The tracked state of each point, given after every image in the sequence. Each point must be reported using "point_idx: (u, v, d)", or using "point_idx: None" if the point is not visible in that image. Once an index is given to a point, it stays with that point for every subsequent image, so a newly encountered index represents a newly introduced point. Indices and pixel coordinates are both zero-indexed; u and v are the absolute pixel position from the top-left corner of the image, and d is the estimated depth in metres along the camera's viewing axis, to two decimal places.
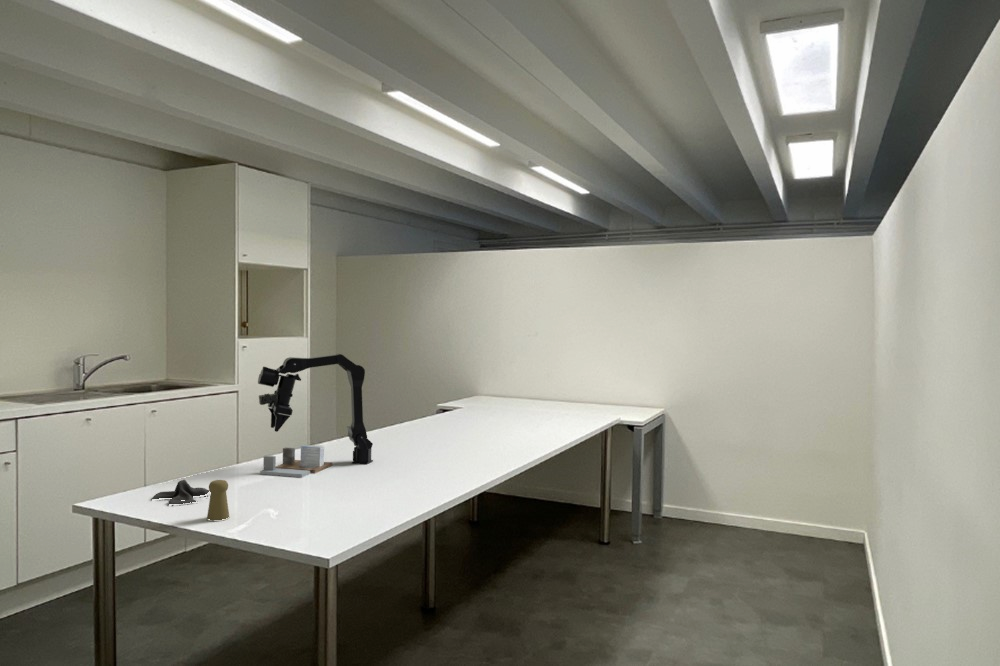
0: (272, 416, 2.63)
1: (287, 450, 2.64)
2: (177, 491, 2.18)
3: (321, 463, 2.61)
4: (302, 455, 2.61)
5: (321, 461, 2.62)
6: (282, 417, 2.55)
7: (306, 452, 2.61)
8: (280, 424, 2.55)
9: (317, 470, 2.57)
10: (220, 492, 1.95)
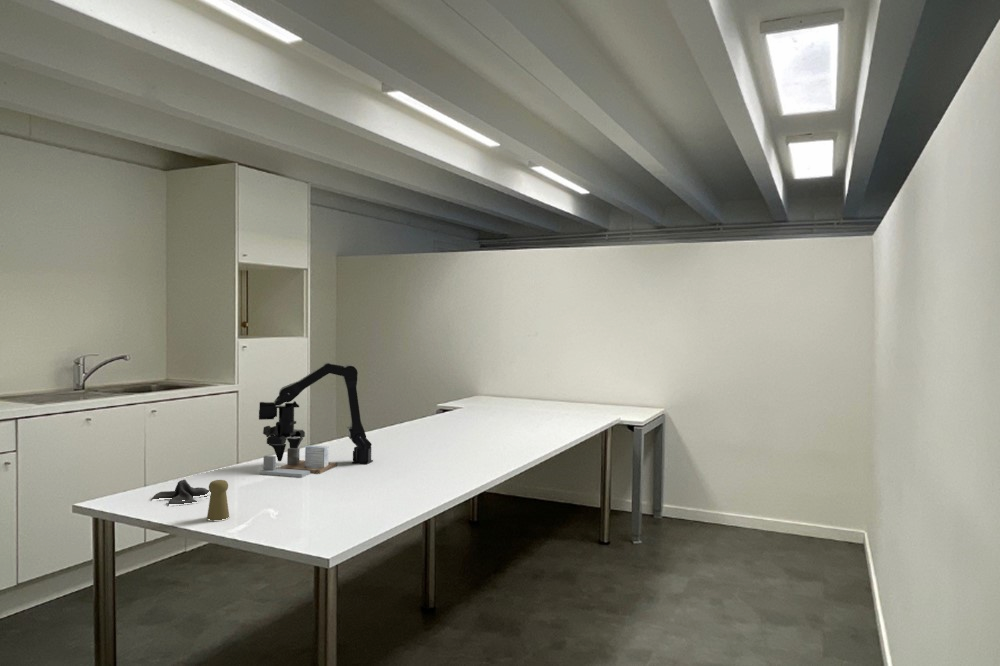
0: (290, 445, 2.70)
1: (292, 450, 2.63)
2: (177, 491, 2.18)
3: (325, 464, 2.61)
4: (307, 455, 2.60)
5: (326, 461, 2.61)
6: (279, 447, 2.59)
7: (311, 452, 2.60)
8: (280, 454, 2.59)
9: (322, 470, 2.56)
10: (220, 492, 1.95)
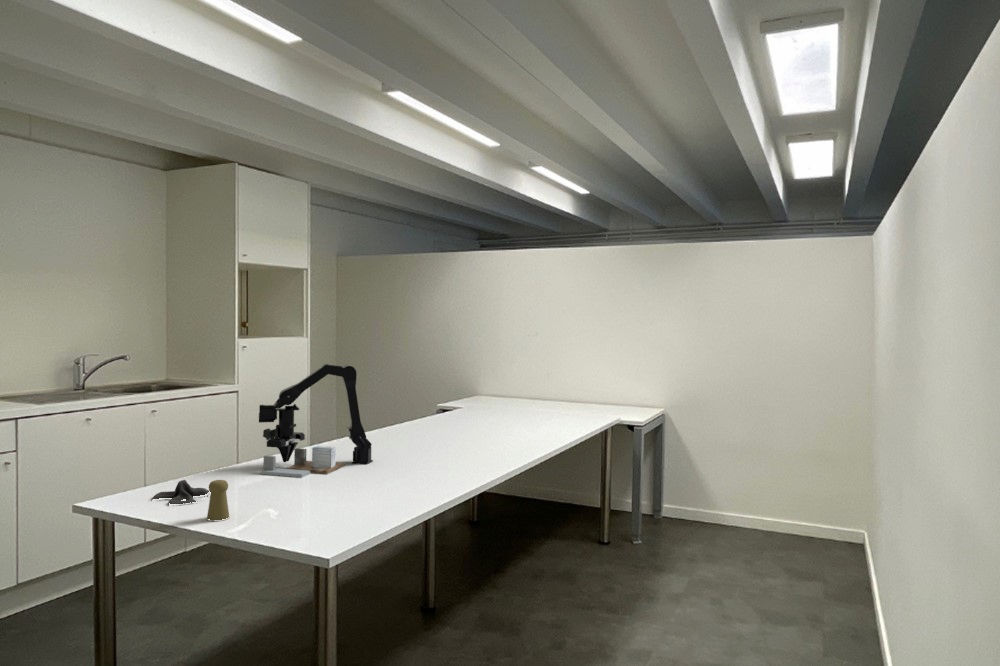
0: None
1: (299, 451, 2.63)
2: (177, 491, 2.18)
3: (332, 464, 2.60)
4: (314, 456, 2.60)
5: (332, 462, 2.60)
6: (284, 448, 2.63)
7: (318, 453, 2.59)
8: (285, 455, 2.63)
9: (329, 471, 2.55)
10: (220, 492, 1.95)
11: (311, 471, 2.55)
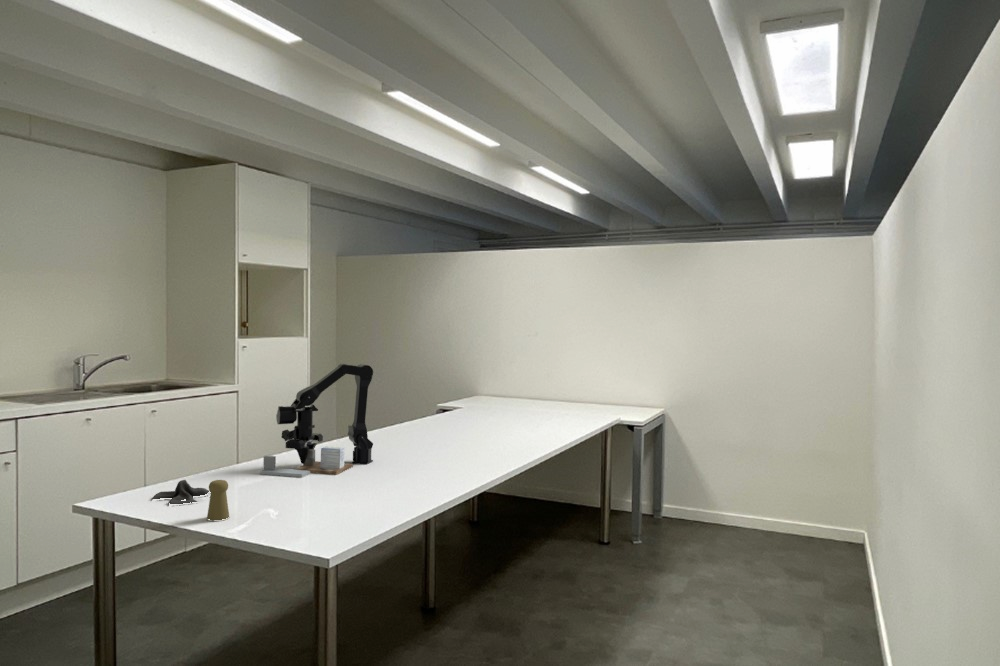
0: None
1: (308, 451, 2.62)
2: (177, 491, 2.18)
3: (341, 465, 2.59)
4: (322, 457, 2.59)
5: (341, 463, 2.59)
6: (303, 449, 2.61)
7: (326, 453, 2.58)
8: (303, 456, 2.61)
9: (338, 472, 2.55)
10: (220, 492, 1.95)
11: (320, 472, 2.54)
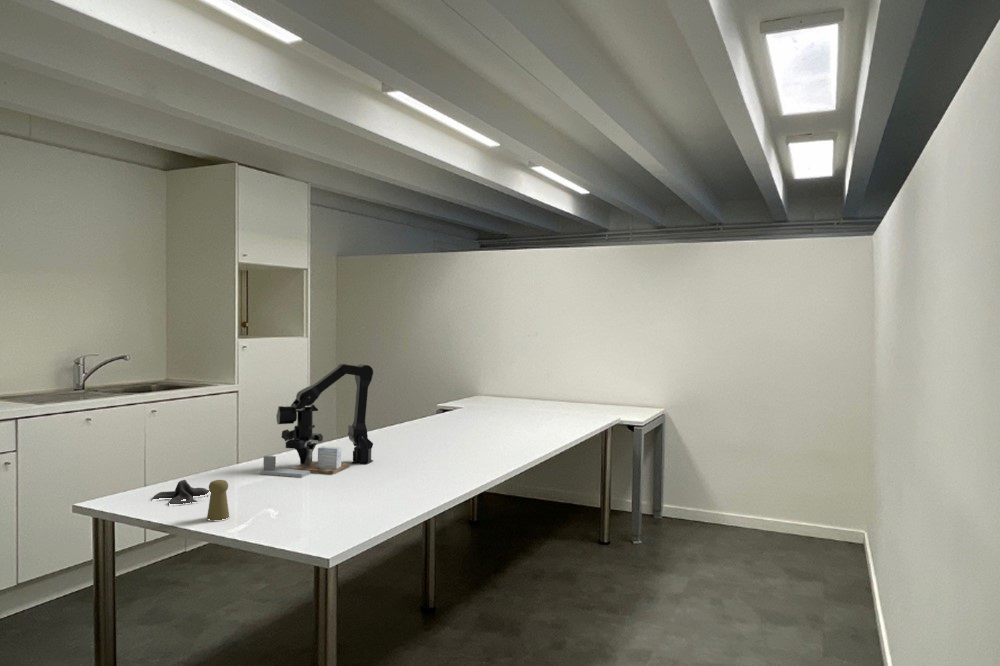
0: None
1: None
2: (177, 491, 2.18)
3: (338, 465, 2.59)
4: (319, 456, 2.59)
5: (338, 463, 2.59)
6: (303, 449, 2.61)
7: (323, 453, 2.59)
8: (303, 456, 2.61)
9: (335, 471, 2.55)
10: (220, 492, 1.95)
11: (317, 471, 2.55)
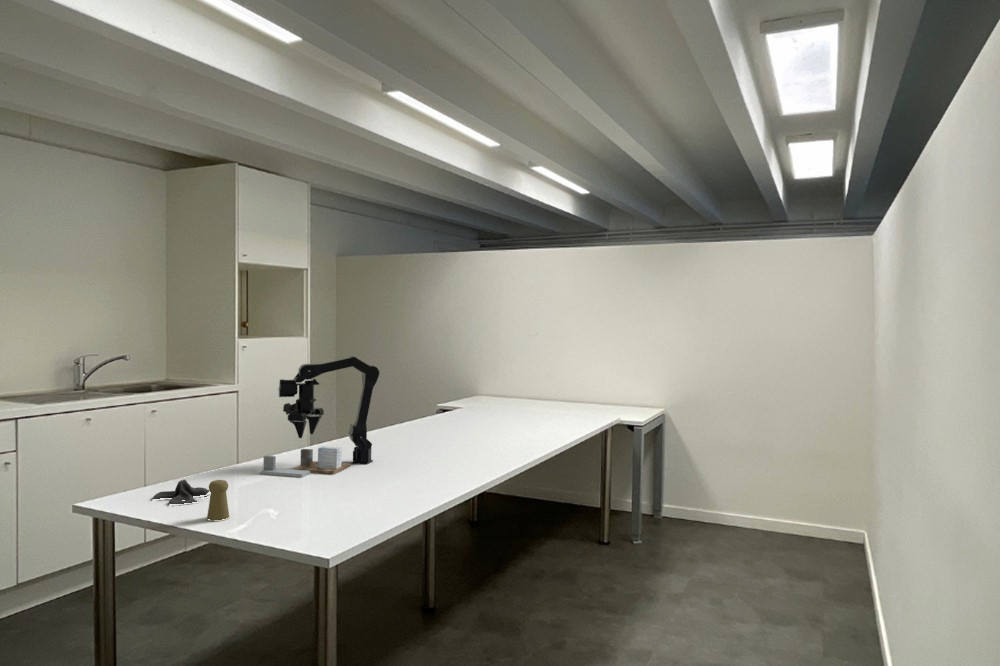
0: (309, 423, 2.71)
1: (305, 451, 2.62)
2: (177, 491, 2.18)
3: (338, 465, 2.59)
4: (319, 457, 2.59)
5: (338, 463, 2.59)
6: (300, 424, 2.60)
7: (323, 453, 2.58)
8: (300, 431, 2.61)
9: (336, 471, 2.55)
10: (220, 492, 1.95)
11: (317, 471, 2.55)
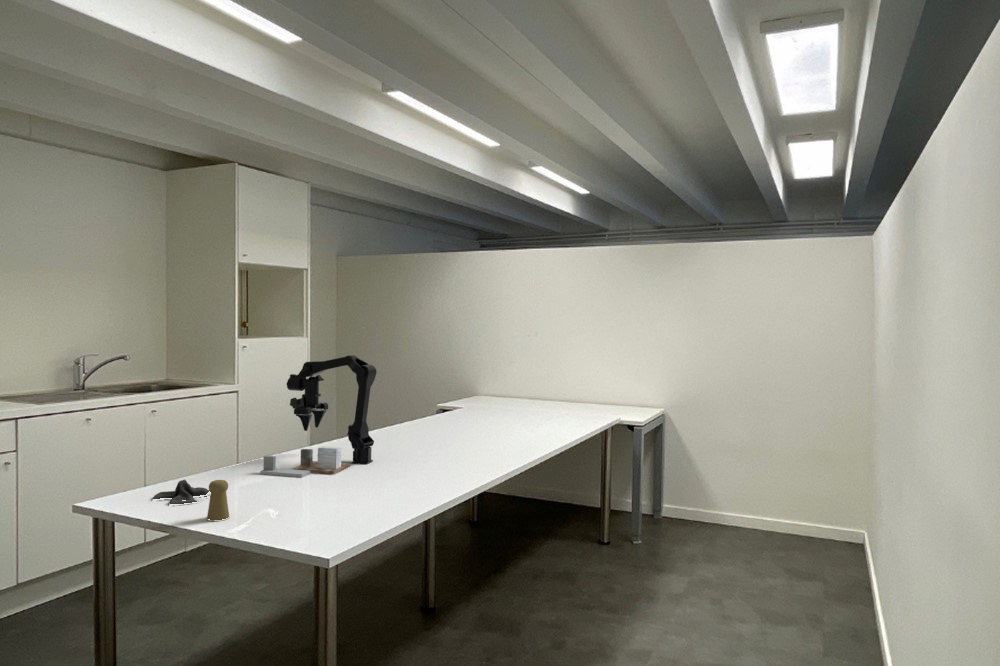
0: (315, 417, 2.87)
1: (305, 451, 2.62)
2: (177, 491, 2.18)
3: (337, 465, 2.58)
4: (319, 457, 2.59)
5: (338, 463, 2.59)
6: (305, 417, 2.76)
7: (323, 453, 2.58)
8: (306, 424, 2.77)
9: (336, 471, 2.55)
10: (220, 492, 1.95)
11: (317, 471, 2.55)
